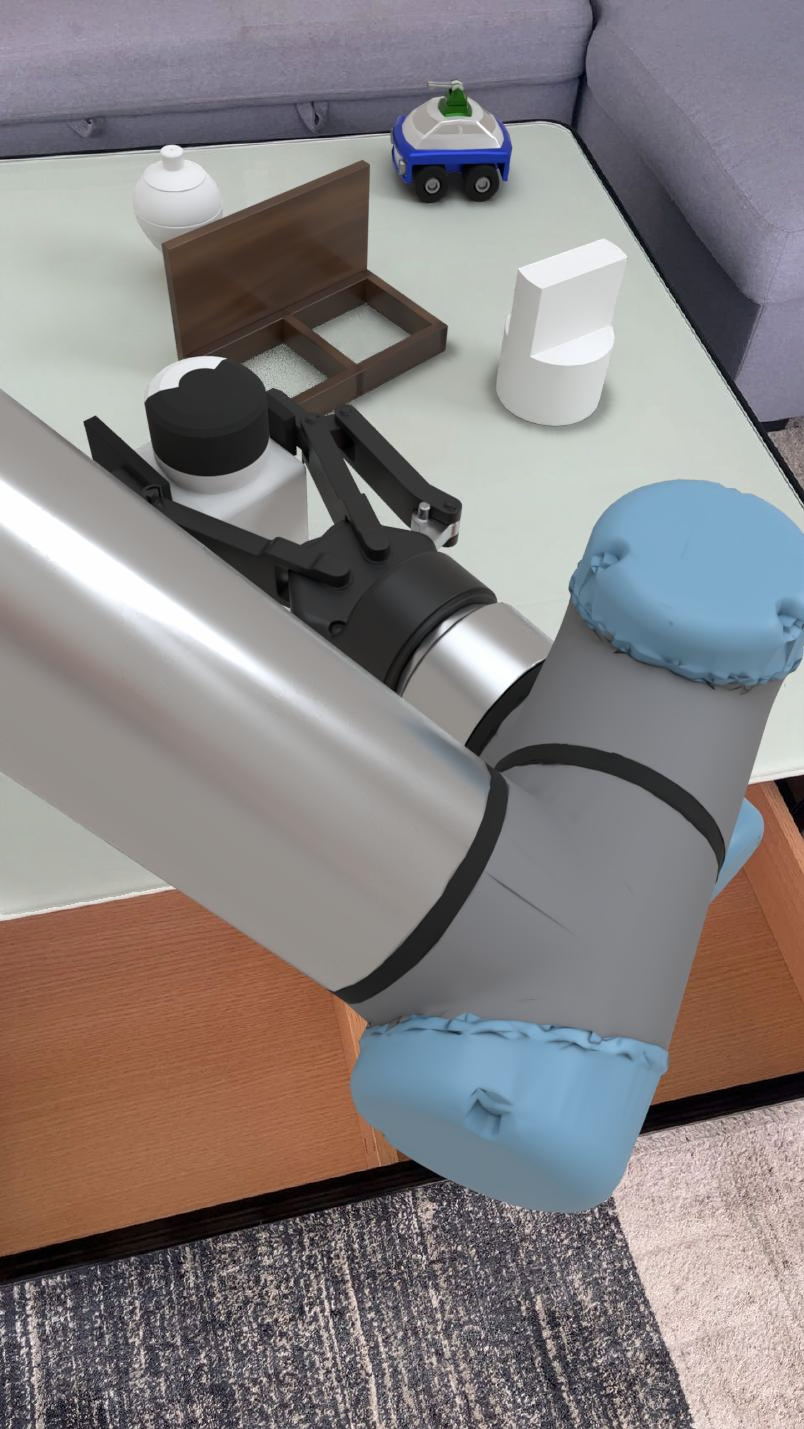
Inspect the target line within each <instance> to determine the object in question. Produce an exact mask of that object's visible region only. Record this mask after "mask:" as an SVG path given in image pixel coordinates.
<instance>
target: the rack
mask: <svg viewBox="0 0 804 1429" xmlns="http://www.w3.org/2000/svg"><path fill="white" fill-rule="evenodd" d="M370 178H371V164H370V163H369V162H367V161H366V160H364V159H360V160H359V161H356V162H354V163H351V164H348V165H345V166H344V167H341V168H339V169H337V170H334V171H332V172H330V173H326V174H325V175H321V176H319V177H318V178H315V179H313V180H310V181H307V182H305V183H302V184H301V185H298V186H296V187H293V188H291V189H288V190H286V191H283V192H281V193H278V194H277V195H274V196H271V197H269V198H266V199H264V200H262V201H259V202H258V203H255V204H252V205H250V206H248V207H245V208H243V209H240V210H237V211H236V212H233V213H231V214H228V215H226V216H224V217H222V218H221V219H219V220H216V221H214V222H212V223H209V224H207V225H204V226H202V227H200V228H197V229H195V230H192V231H190V232H187V233H185V234H183V235H180V236H178V237H175V238H173V239H171V240H168V241H166V242H163V243H162V244H161V245H162V252H163V254H162V258H163V259H162V260H163V266H164V270H165V271H164V273H165V279H166V285H167V294H168V300H169V306H170V307H169V308H170V314H171V321H172V322H171V323H172V328H173V334H174V342H175V349H176V355H177V356H176V357H177V362H178V361H180V360H183V359H187V358H193V357H201V356H214V357H216V356H218V355H222V356H223V357H224V358H227V359H230V360H233V361H236V362H238V363H241V364H243V363H245V362H247V361H249V360H251V359H254V358H255V357H257V356H259V355H261V354H264V353H265V352H267V351H269V350H272V349H273V348H275V347H278V346H279V345H282V344H285V345H286V346H287V347H289V349H291V350H293V351H294V352H295V353H296V354H298V355H299V356H300V357H301V358H303V359H304V360H305V361H307V362H308V364H310V365H311V366H313V367H314V368H315V369H316V370H318V371H319V372H321V373H322V374H323V375H325V377H327V379H325V380H323V381H321V382H319V383H317V384H316V385H313V386H312V387H310V388H308V389H305V390H304V391H302V392H300V393H298V394H296V395H294V396H292V397H290V398H291V399H293V401H295V402H296V403H297V404H299V405H300V406H301V407H302V408H304V409H305V410H306V411H307V412H315V413H318V414H320V415H321V416H327V415H329V413H331V412H333V411H335V408H336V407H337V406H339V405H343V404H349V403H350V402H352V401H354V400H355V399H358V398H360V397H361V396H364V395H365V394H366V393H368V392H370V391H373V390H374V389H376V388H377V387H380V386H381V385H383V384H386V383H387V382H389V381H390V380H393V379H395V378H396V377H398V376H400V375H402V374H404V373H406V372H408V371H410V370H412V369H413V368H415V367H417V366H419V365H420V364H422V363H425V362H426V361H428V360H430V359H432V358H434V357H436V356H437V355H439V354H441V353H443V352H444V351H445V352H446V350H447V341H448V331H449V325H448V324H446V323H445V322H444V321H442V320H440V319H439V318H438V317H436V316H435V315H433V314H432V313H431V312H429V310H426V309H425V308H424V307H422V306H421V305H419V304H418V303H416V302H415V301H413V300H412V299H411V298H410V297H408V296H407V295H405V294H404V293H402V292H401V291H399V290H398V289H396V288H395V287H394V286H392V285H391V284H390V283H388V282H387V281H385V280H384V279H382V278H381V277H380V276H378V275H377V274H375V273H374V272H372V270H369V269H368V259H369V258H368V255H369V254H368V253H369V252H368V251H369V221H370V220H369V219H370V217H369V215H370V188H371V186H370V182H371V179H370ZM365 303H366V304H367V305H369V306H371V307H372V308H373V309H375V310H376V311H377V312H378V313H380V314H381V315H382V316H384V317H385V318H387V319H389V321H391V322H392V323H393V324H395V325H397V326H398V327H399V328H400V329H402V330H404V331H405V332H406V333H408V334H409V336H407V337H406V338H403V339H402V340H400V341H398V342H396V343H394V344H392V345H390V346H388V347H386V348H384V349H382V350H380V351H379V352H377V353H374V354H372V355H371V356H369V357H367V358H365V359H364V360H361V361H360V362H358V363H356V362H355V361H354V360H352V359H351V358H350V357H348V356H347V355H345V354H344V353H343V352H342V351H341V350H339V349H337V348H336V347H335V346H334V345H333V344H331V343H330V342H329V341H327V340H326V339H325V338H323V337H322V336H320V335H319V334H318V333H316V331H314V330H312V329H315V328H317V327H318V326H320V325H322V324H324V323H326V322H329V321H331V320H333V319H335V318H337V317H339V316H341V315H342V314H344V313H347V312H350V311H351V310H353V309H355V308H357V307H359V306H361V305H363V304H365Z"/></svg>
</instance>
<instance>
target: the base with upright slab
mask: <svg viewBox="0 0 804 1429" xmlns="http://www.w3.org/2000/svg"><path fill="white" fill-rule="evenodd" d="M627 262H628V255H627V254H626V253H625V252H624V251H623V250H622V249H621V248H620V246H618V245H616V244H614V243H613V242H612V241H610V240H608V239H606V238H604V237H603V238H599V239H597V240H594V241H592V242H589V243H586V244H583V245H580V246H576V247H575V248H572V249H569V250H566V251H562V252H561V253H557V254H555V255H552V256H549V257H546V258H543V259H541V260H538V261H535V262H532V263H529V264H526V265H524V266H521V267H518V268H517V273H516V279H515V287H514V293H513V300H512V306H511V311H510V312H509V313H508V315H507V317H506V318H505V322H504V328H503V334H502V342H501V348H500V355H499V361H498V367H497V373H496V374H497V375H496V380H495V392H496V395H497V398H498V400H499V401H500V403H501V404H502V405H503V406H504V407H505V409H507V411H509V412H510V413H512V414H513V415H514V416H516V417H518V418H520V419H522V420H524V421H526V422H529V423H533V424H537V425H541V426H552V427H559V426H569V425H572V424H576V423H579V422H581V421H583V420H585V419H587V418H589V417H590V416H591V415H592V414H593V413H594V412H595V411H596V410H597V408H598V405H599V402H600V401H601V396H602V392H603V388H604V385H605V380H606V376H607V373H608V369H609V366H610V365H609V364H610V360H611V356H612V354H613V353H612V352H613V348H614V345H615V340H616V336H615V330H614V327H613V326H612V324H613V319H614V316H615V311H616V307H617V302H618V299H619V295H620V290H621V287H622V284H623V283H622V282H623V279H624V275H625V270H626V267H627Z"/></svg>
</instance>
